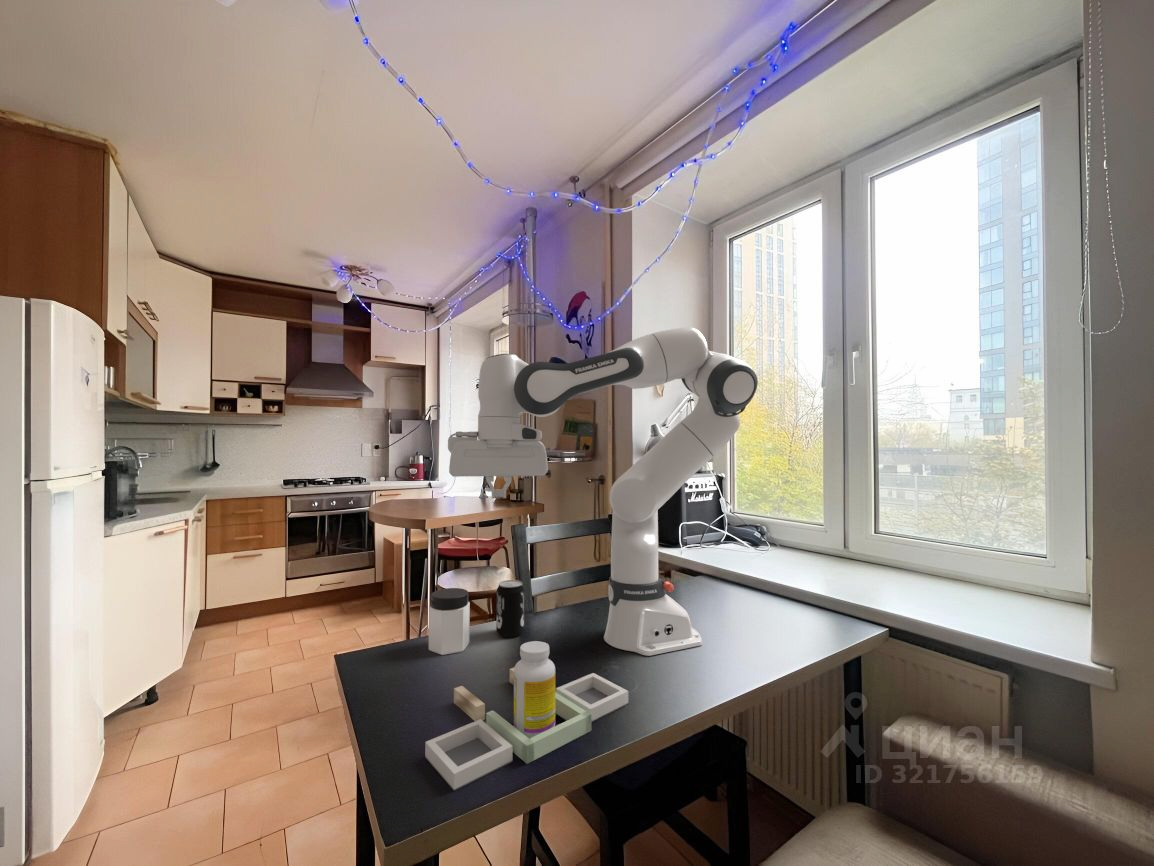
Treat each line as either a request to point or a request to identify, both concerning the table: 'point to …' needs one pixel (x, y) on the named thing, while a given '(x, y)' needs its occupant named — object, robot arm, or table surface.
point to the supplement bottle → (534, 690)
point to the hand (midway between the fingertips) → (498, 498)
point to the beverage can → (510, 608)
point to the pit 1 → (468, 753)
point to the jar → (449, 621)
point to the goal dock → (549, 739)
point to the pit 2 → (594, 695)
